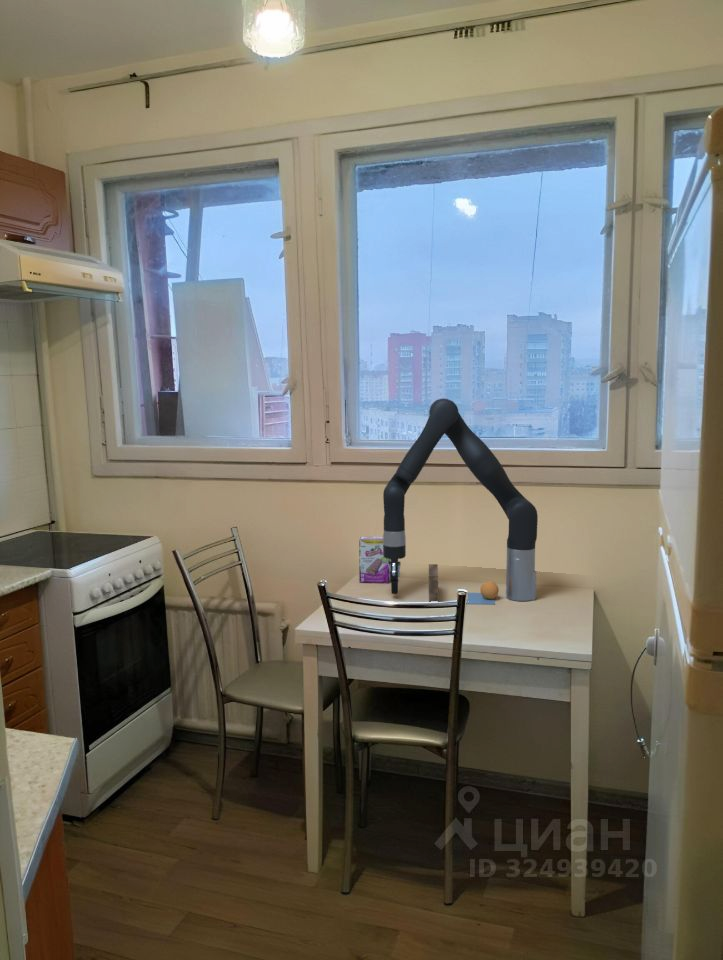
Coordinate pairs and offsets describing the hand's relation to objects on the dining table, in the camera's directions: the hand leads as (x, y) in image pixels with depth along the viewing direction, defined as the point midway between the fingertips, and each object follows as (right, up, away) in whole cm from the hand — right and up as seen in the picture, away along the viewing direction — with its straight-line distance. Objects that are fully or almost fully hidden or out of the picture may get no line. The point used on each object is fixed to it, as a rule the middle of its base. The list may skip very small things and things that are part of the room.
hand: (394, 593), depth 238 cm
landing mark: (+27, -1, -2) cm, 27 cm away
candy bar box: (-6, +1, +20) cm, 21 cm away
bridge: (+13, -1, -1) cm, 13 cm away
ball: (+31, +2, -3) cm, 32 cm away
